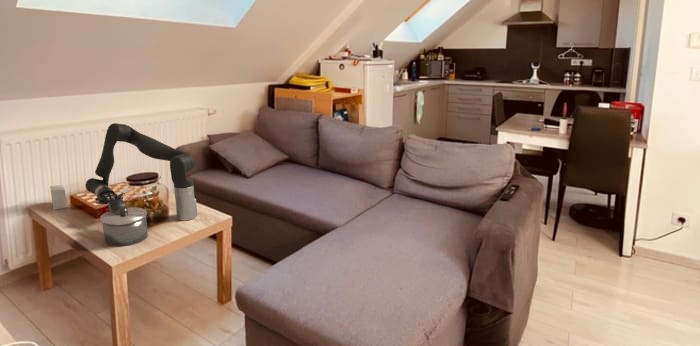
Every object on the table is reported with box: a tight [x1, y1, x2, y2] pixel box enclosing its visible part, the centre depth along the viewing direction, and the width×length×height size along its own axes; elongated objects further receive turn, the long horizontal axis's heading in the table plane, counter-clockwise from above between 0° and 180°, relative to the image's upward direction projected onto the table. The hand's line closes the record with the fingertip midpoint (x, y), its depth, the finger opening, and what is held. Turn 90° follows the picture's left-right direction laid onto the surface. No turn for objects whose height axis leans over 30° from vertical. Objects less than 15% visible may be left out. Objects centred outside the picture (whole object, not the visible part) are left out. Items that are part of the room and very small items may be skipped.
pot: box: [101, 216, 149, 247], centre depth 212 cm, size 18×18×10 cm
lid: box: [99, 199, 147, 225], centre depth 212 cm, size 19×24×4 cm
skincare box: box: [49, 184, 68, 210], centre depth 250 cm, size 10×6×10 cm, turn 35°
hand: (114, 203), depth 222 cm, fingers closed
